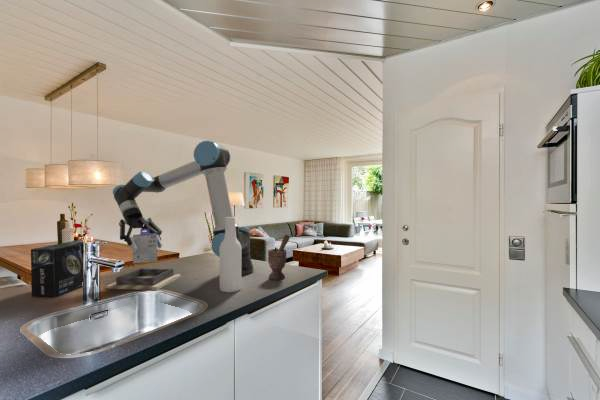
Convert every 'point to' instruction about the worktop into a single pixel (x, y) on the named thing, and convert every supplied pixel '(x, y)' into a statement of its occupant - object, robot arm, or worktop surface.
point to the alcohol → (230, 259)
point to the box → (57, 269)
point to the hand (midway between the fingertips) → (148, 248)
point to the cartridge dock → (145, 279)
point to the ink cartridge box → (145, 247)
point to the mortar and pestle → (278, 260)
